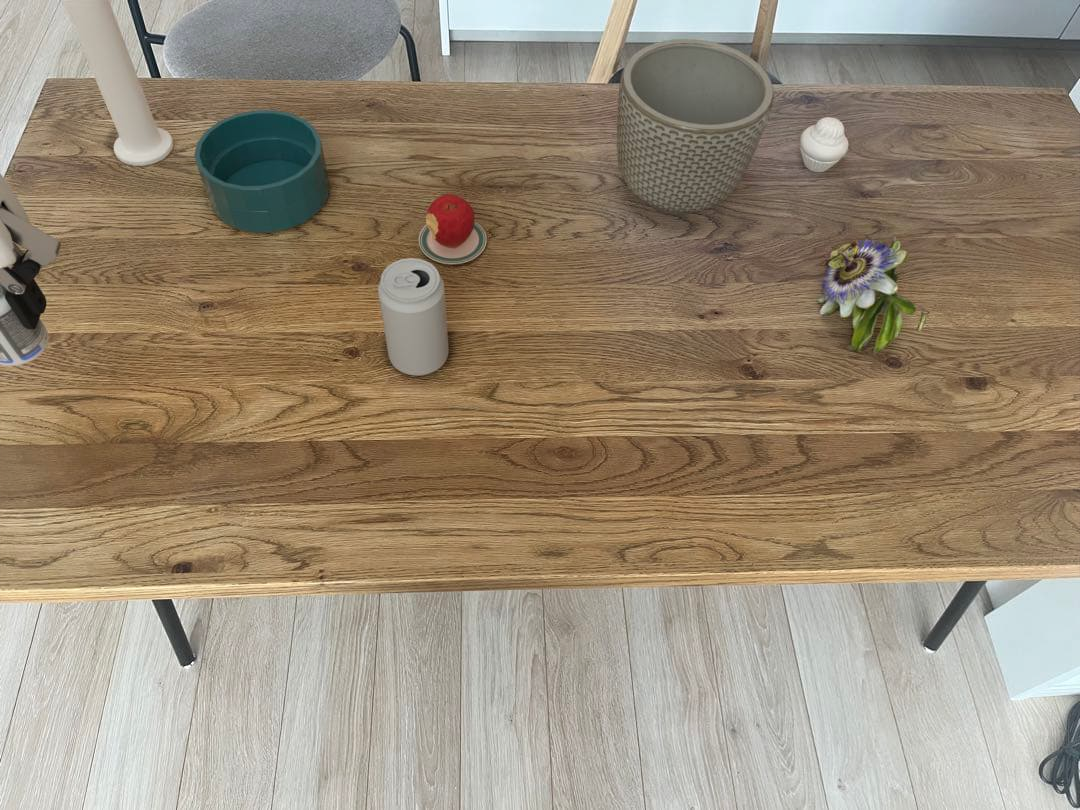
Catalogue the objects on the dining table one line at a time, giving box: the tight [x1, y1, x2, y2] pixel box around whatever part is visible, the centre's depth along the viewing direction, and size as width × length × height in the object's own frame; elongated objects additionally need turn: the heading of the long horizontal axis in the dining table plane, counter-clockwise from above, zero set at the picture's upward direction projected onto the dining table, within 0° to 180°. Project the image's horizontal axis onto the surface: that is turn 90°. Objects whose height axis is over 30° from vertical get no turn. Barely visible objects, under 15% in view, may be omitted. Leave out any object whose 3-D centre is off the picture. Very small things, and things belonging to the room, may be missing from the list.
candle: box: [61, 0, 174, 167], centre depth 100 cm, size 7×7×25 cm
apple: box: [418, 193, 487, 265], centre depth 100 cm, size 8×8×6 cm
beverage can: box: [377, 257, 450, 376], centre depth 88 cm, size 6×6×12 cm
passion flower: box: [816, 235, 930, 354], centre depth 96 cm, size 11×11×12 cm
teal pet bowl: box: [193, 109, 330, 233], centre depth 103 cm, size 14×14×7 cm
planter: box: [616, 38, 774, 216], centre depth 103 cm, size 17×17×16 cm
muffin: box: [799, 116, 849, 173], centre depth 112 cm, size 6×6×7 cm
